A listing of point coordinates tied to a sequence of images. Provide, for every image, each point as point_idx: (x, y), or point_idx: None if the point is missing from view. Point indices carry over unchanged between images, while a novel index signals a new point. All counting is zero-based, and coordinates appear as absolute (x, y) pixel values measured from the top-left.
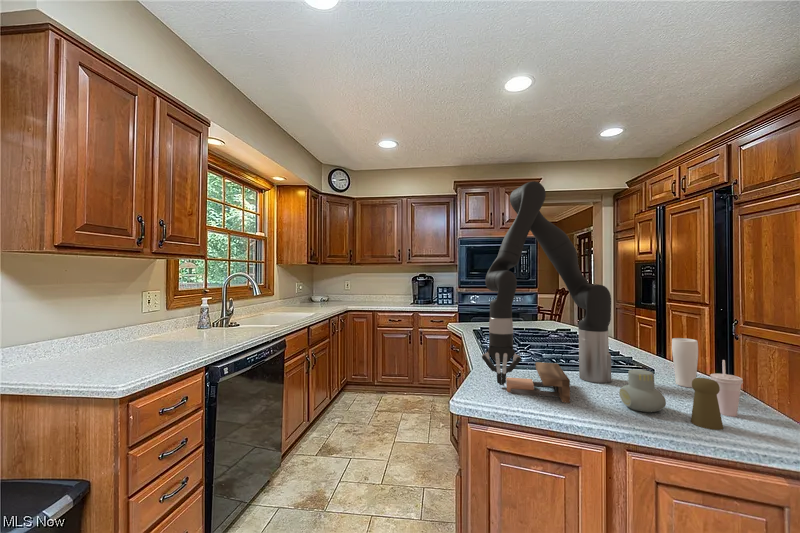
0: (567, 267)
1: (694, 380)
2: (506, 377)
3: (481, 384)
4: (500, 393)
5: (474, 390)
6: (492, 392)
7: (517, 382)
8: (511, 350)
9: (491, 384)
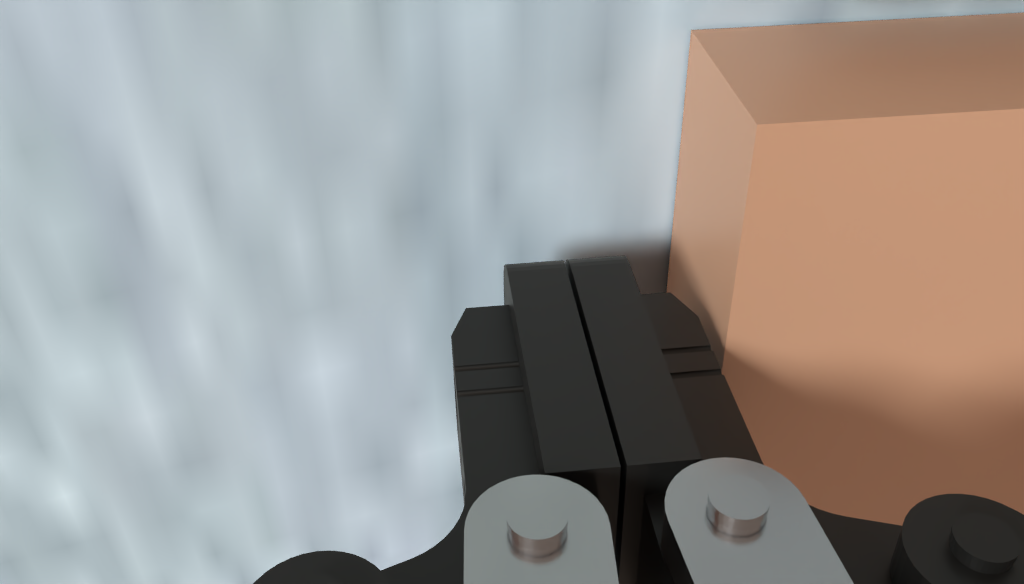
0: None
1: None
2: (758, 140)
3: (7, 176)
4: None
5: (16, 570)
6: (375, 564)
7: (952, 474)
8: None
9: (276, 99)
